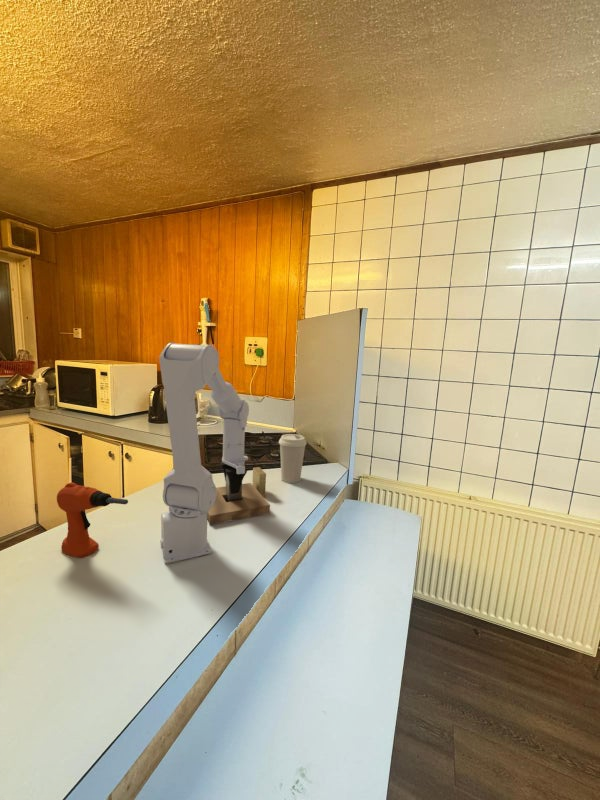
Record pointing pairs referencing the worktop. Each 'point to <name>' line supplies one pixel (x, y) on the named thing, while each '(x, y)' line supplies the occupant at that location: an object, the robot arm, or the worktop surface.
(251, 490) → the plate
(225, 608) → the worktop surface
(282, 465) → the coffee cup
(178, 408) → the robot arm
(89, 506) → the toy drill
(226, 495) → the square bit
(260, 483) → the block
